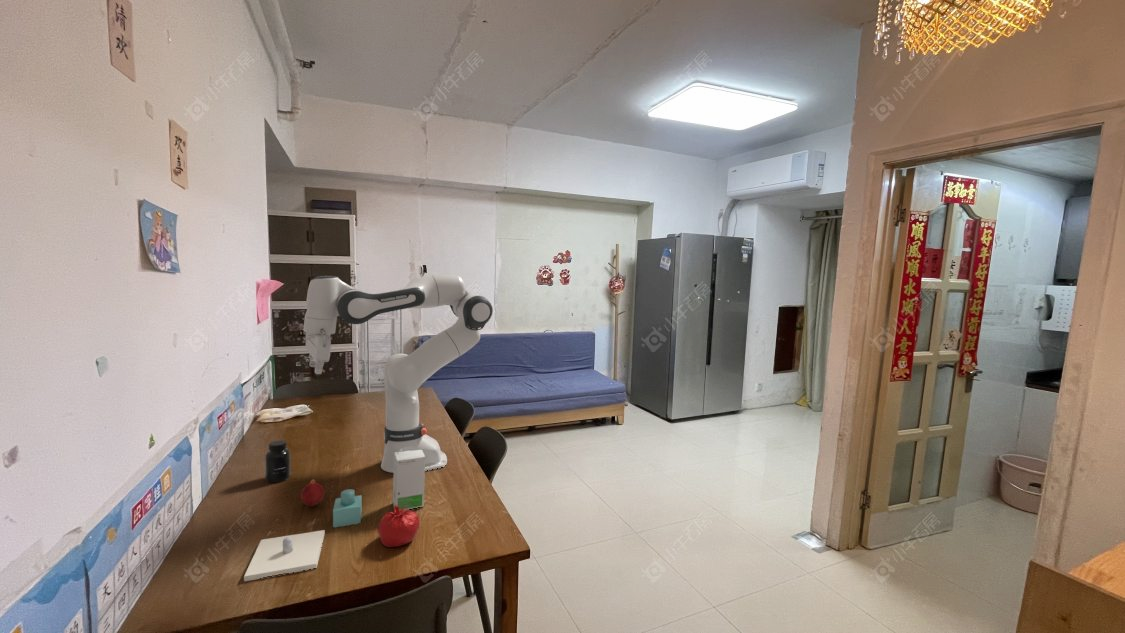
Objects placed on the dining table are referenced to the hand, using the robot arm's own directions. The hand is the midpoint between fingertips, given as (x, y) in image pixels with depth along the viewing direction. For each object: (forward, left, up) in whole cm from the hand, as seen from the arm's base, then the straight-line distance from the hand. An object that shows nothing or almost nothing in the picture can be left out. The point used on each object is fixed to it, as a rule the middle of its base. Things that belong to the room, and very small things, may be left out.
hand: (315, 370), depth 139 cm
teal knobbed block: (-11, +26, -37) cm, 46 cm away
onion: (-1, +16, -37) cm, 40 cm away
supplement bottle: (+12, -6, -37) cm, 39 cm away
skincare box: (-27, +23, -37) cm, 51 cm away
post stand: (+1, +39, -37) cm, 54 cm away
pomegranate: (-24, +40, -37) cm, 60 cm away
